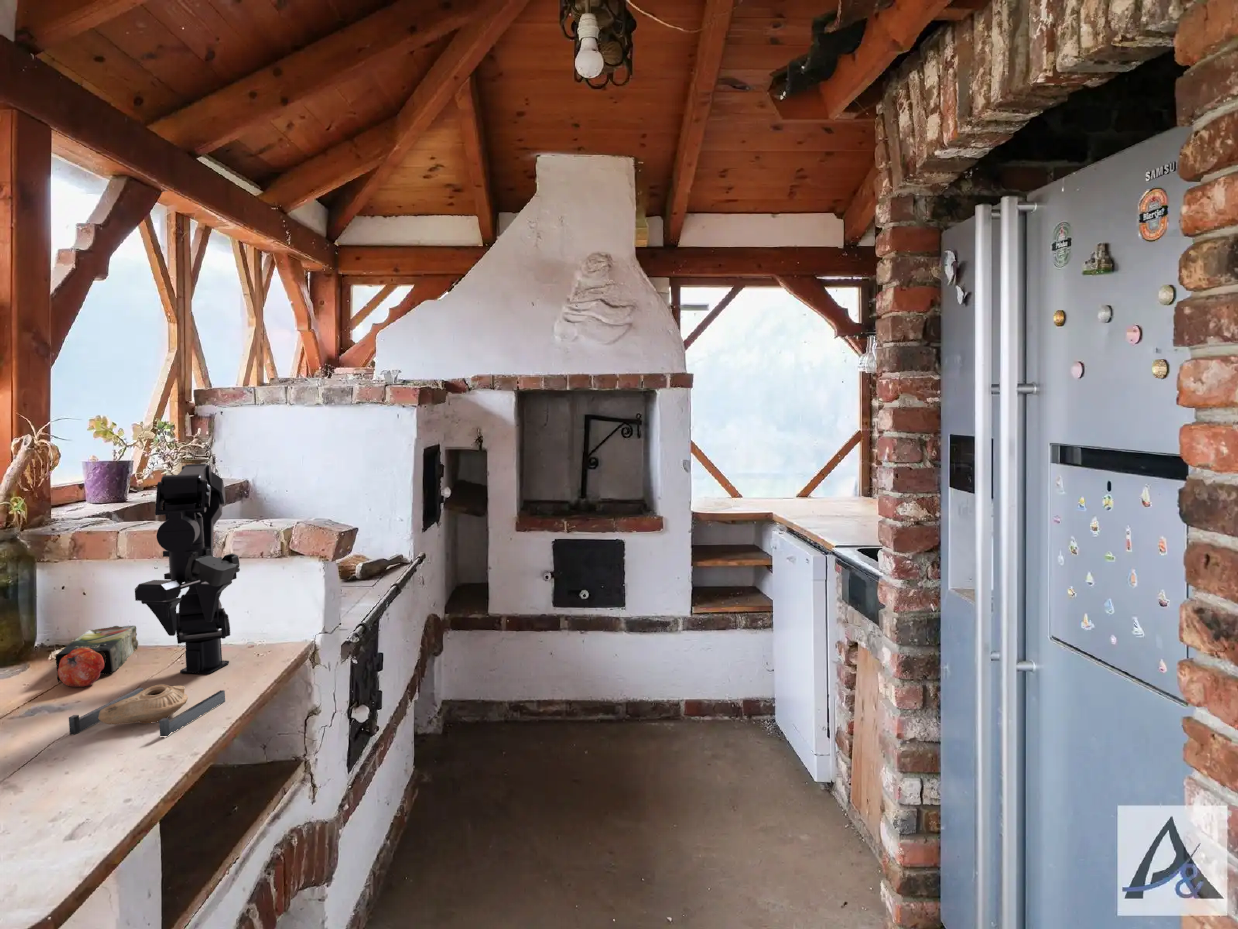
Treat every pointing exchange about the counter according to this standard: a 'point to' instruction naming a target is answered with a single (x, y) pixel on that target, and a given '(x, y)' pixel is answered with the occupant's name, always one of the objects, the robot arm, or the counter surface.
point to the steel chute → (165, 724)
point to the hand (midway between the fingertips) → (191, 628)
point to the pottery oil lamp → (145, 706)
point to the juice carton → (106, 645)
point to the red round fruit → (80, 667)
